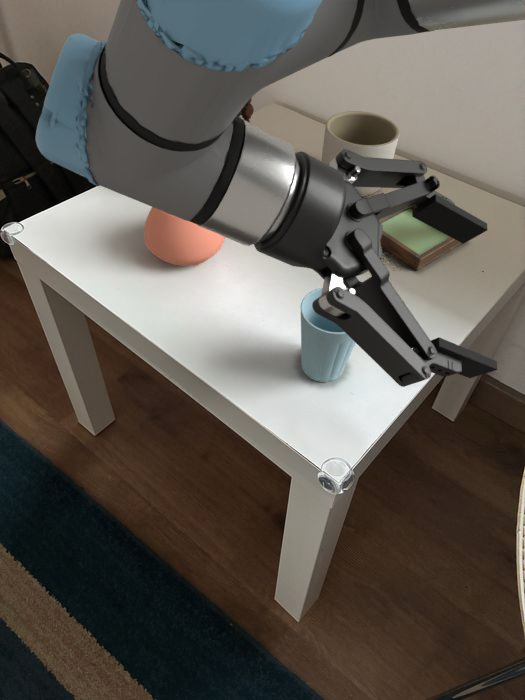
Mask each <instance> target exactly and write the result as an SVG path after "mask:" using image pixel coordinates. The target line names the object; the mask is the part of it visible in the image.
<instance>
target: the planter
mask: <svg viewBox="0 0 525 700" xmlns="http://www.w3.org/2000/svg"><path fill="white" fill-rule="evenodd" d="M399 138H400V129H399V127H398V125H397V124H396V123H395V122H393V121H392V120H391V119H389V118H387V117H385V116H383V115H381V114H377V113H374V112H370V111H361V110H350V111H349V110H348V111H343V112H338V113H336V114H333V115H332V116H330V117H329V118H328V119H327V120H326V122H325V128H324V136H323V143H322V144H323V145H322V150H321V151H322V152H321V162H323V163H325V164H328V163H329V162H330V161H331V160H332V159H333V158H334V157H336V156H337V155H338V154H339V153H340V152H341V151H342V150H343V149H347V150H350V151H352V152H354V153H356V154H358V155H361V156H363V157H371V158H385V159H395V153H396V150H397V146H398V142H399ZM355 188H356V190H357V191H358V192H359V194H360V195H361V196H362V198H365V197H367V196H368V197H369V196H370V195H373V194H374V193H376V192H377V191H379V190H380V189H381V188H376V187H355Z"/></svg>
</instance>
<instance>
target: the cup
mask: <svg viewBox="0 0 525 700" xmlns="http://www.w3.org/2000/svg"><path fill="white" fill-rule="evenodd" d="M322 289H323V287H320V288H316V289H314V290H311V291H309V292H308V293H307V294H306V295H305V296H304V297H303V299H302V300H301V303H300V348H301V349H300V358H301V361H300V363H301V369H302V371H303V373H304V374H305V376H307V377H308V378H310V379H311V380H314V381H316V382H319V383H329V382H330V383H331V382H333V381H336V380H337V379H339V378H340V377H341V376H342V374H343V372H344V370H345V368H346V365H347V363H348V361H349V360H350V359H349V358H350V356H351V354H352V351H353V349H354V348H355V345H356V344H357V343H356V342H354V341H353V340H352V339H351V338H350V337H349V336H348V335H347V334H346V333H345V332H344V331H343V330H342V329H341V328H340V327H339V326H338V325H337V324H336V323H334V322H332V321H330V320H328V319H326V318H324V317H322V316H320V315H319V314H317V313H316V312H315V311H314V310H313V307H312V304H313V301H314V300H316V299H317V298H319V297H320V296H321V294H322Z"/></svg>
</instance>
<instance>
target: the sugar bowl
mask: <svg viewBox="0 0 525 700" xmlns="http://www.w3.org/2000/svg"><path fill="white" fill-rule="evenodd" d="M144 224H145V225H144V231H143V236H144V237H143V238H144V243H145V246H146V247H147V249H148V250H149V251H150V252H151V253H152V254H153V256H155V257H156V258H158V259H159V260H162V261H164V262H165V263H168V264H171V265H174V266H183V267H184V266H187V267H188V266H199V265H200V264H202V263H205V262H206V261H208V260H210V258H212V257H213V256H215V255H216V254H217V253H218V252H219V251H220V250H221V248H222V247H223V245H224V243H225V239H226V237H224V236H222V235H219V234H217V233H214V232H212V231H210V230H207V229H205V228H203V227H200V226H198V225H197V224H195V223H192V222H190V221H186V220H183V219H181V218H179V217H176V216H174V215H171V214H169V213H166V212H164V211H161V210H159V209H156V208H154V207H152V206H151V208H150V210H149V211H148V214H147V216H146V220H145V223H144Z"/></svg>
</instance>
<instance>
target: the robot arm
mask: <svg viewBox="0 0 525 700" xmlns="http://www.w3.org/2000/svg"><path fill="white" fill-rule="evenodd" d="M517 21H518V22H519V21H525V0H120V1H119V4H118V8H117V9H116V14H115V17H114V20H113V22H112V26H111V28H110V32H109V34H108V37H107V40H106V41H105V40H103V41H100V40H97V39H95V38H92V37H90V36H89V35H86V34H83V33H73V34H71V35H69V36H68V37H67V38H66V39H65V42H64V43H63V45H62V47H61V50H60V53H59V56H58V59H57V61H56V64H55V66H54V68H53V69H54V70H53V72H52V75H51V78H50V82H49V85H48V88H47V91H46V95H45V98H44V101H43V106H42V110H41V113H40V115H39V119H38V123H37V126H36V131H35V143H36V147H37V149H38V151H39V152H40V154H41V155H42V156H43V157H44V158H45V160H48V161H49V162H52V163H54V164H56V165H58V166H60V167H62V168H64V169H67V170H69V171H70V172H73V173H75V174H77V175H78V176H81V177H84V178H85V179H87V181H88V182H89V183H91V184H92V185H94V186H97V187H103V188H105V189H108V190H110V191H112V192H114V193H118V194H120V195H122V196H125V197H127V198H130V199H132V200H135V201H137V202H140V203H142V204H143V205H147V206H149V207H151V208H152V207H154V208H156V209H159V210H161V211H164V212H166V213H169V214H171V215H174V216H176V217H179V218H181V219H183V220H186V221H190V222H192V223H195V224H197V225H198V226H200V227H203V228H205V229H207V230H210V231H212V232H214V233H217V234H219V235H222V236H224V237H225V239H229V240H231V241H233V242H236V243H238V244H241V245H243V246H248V247H249V246H254V248H255V250H256V251H257V252H258V253H261V254H263V255H265V256H268V257H270V258H273V259H275V260H277V261H280V262H282V263H283V264H286V265H288V266H291V267H296V268H305V269H309V270H313V271H314V272H315V273H317V274H318V275H319V276H320V277H321V278H322V280H323V285H322V288H323V289H322V294H321V296H320V297H319V298H317V299H316V300H314V301H313V304H312V307H313V310H314V311H315V312H316V313H317V314H319V315H320V316H322V317H324V318H326V319H328V320H330V321H332V322H334V323H336V324H337V325H338V326H339V327H340V328H341V329H342V330H343V331H344V332H345V333H346V334H347V335H348V336H349V337H350V338H351V339H352V340H353V341H354V342H356V343H355V344H356V345H357V346H359V348H360V349H362V350H363V351H364V353H366V355H367V356H368V357H370V358H371V359H372V360H373V361H374V362H375V363H376V364H377V365H378V366H379V367H380V368H381V369H382V370H383V371H384V372H385V373H386V374H387V375H388V376H389V377H390V378H391V379H392V380H393V381H394V382H395V383H396V384H397V385H398V386H400V387H401V388H402V387H403V388H405V387H408V386H410V385H413V384H417V383H419V382H422V381H425V380H426V381H427V380H428V379H430V378H431V376H432V374H434V375H438V376H440V377H443V378H444V377H445V378H446V377H449V376H450V377H451V376H453V375H455V374H457V375H460V376H462V377H465V378H468V379H472V378H476V377H479V376H482V375H485V374H489V373H492V372H495V371H498V361H497V360H495V359H493V358H490V357H488V356H485V355H483V354H481V353H479V352H476V351H473V350H471V349H468V348H466V347H463V346H461V345H458V344H456V343H454V342H452V341H449V340H448V339H445V338H442V337H436V338H433V339H430V338H429V336H428V335H427V333H426V332H425V330H424V328H423V327H422V326H421V324H420V323H419V322H418V320H417V319H416V318H415V316H414V315H413V313H412V311H410V309H409V307H408V306H407V305H406V303H405V301H404V300H403V299H402V297H401V295H399V293H398V292H397V290H396V289H395V287H394V286H393V284H392V283H391V281H390V276H391V273H390V271H389V269H388V267H387V266H386V265H385V264H384V262H383V260H382V259H383V247H381V242H380V240H381V237H382V234H383V225H381V224H380V223H379V220H378V219H381V218H384V217H386V216H389V215H391V214H394V213H397V212H399V211H402V210H405V209H407V208H410V207H412V206H413V205H415V206H417V207H416V208H415V209H413V210H412V217H414V218H416V219H418V220H420V221H421V222H423V223H425V224H427V225H429V226H431V227H433V228H435V229H436V230H438V231H440V232H442V233H444V234H446V235H448V236H450V237H451V238H453V239H455V240H457V241H459V242H461V243H462V244H463V245H464V244H466V243H467V242H469V241H471V240H473V239H475V238H477V237H478V236H480V235H483V233H486V232H487V231H488V230H489V229H488V223H487V222H486V221H484V220H482V219H480V218H478V217H477V216H475V215H473V214H472V213H470V212H468V211H466V210H464V209H463V208H461V207H459V206H458V205H456V204H455V202H454V201H452V199H450V198H449V197H447V196H445V195H443V194H442V193H440V192H438V191H436V190H438V189H439V188H440V187H441V182H440V180H439V178H438V177H437V176H436V175H430V176H429V177H428V178H426V177H425V174H427V173H428V167H427V165H426V164H425V163H424V162H423V161H421V160H411V159H397V158H393V159H385V158H371V157H363V156H361V155H358V154H356V153H354V152H352V151H350V150H347V149H343V150H342V151H341V152H340V153H339V154H338V155H337V156H336V157H334V158H333V159H332V160H331V161H330V162H329V163H328V164H325V163H323V162H322V160H320V159H318V158H316V157H315V156H312V155H310V154H309V153H307V152H305V151H297V152H296V150H295V148H294V147H293V145H292V144H291V143H289V141H288V142H287V141H286V140H283V139H282V138H281V137H278V136H276V135H274V134H272V133H271V132H268V131H266V130H264V129H263V128H261V127H259V126H257V125H255V124H253V123H251V122H250V123H249V122H247V121H245V120H244V119H243V118H242V117H240V116H239V117H238V116H237V115H238V113H239V112H240V111H241V109H242V108H243V107H244V106H245V104H246V103H247V102H248V101H249V99H250V98H252V99H253V97H254V96H255V95H256V94H257V93H259V92H260V91H261V90H262V89H264V88H266V87H268V86H270V85H273V84H274V83H277V82H278V81H281V80H283V79H285V78H287V77H289V76H292V75H293V74H295V73H297V72H299V71H301V70H304V69H307V68H308V67H310V66H312V65H314V64H316V63H319V62H320V61H322V60H325V59H327V58H330V57H332V56H335V54H338V53H340V52H342V51H344V50H346V49H349V48H351V47H353V46H355V45H358V44H360V43H364V42H368V41H371V40H378V39H386V38H394V37H402V36H411V35H416V34H421V33H423V34H424V33H429V32H435V31H440V30H449V29H450V30H451V29H457V28H466V27H474V26H483V25H491V24H500V23H509V22H517ZM355 187H376V188H380V189H382V188H383V189H395V190H393V191H390V192H385V193H384V192H381V193H377V194H374V195H372V196H368V197H362V196H361V195H360V194H359V192H358V191H357V190H356V188H355ZM367 272H369V273H370V275H371V276H370V277H368V278H366V279H365V280H364V281H360V280H359V279H358V278H357V277H358V276H362V275H364V274H366V273H367Z"/></svg>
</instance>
